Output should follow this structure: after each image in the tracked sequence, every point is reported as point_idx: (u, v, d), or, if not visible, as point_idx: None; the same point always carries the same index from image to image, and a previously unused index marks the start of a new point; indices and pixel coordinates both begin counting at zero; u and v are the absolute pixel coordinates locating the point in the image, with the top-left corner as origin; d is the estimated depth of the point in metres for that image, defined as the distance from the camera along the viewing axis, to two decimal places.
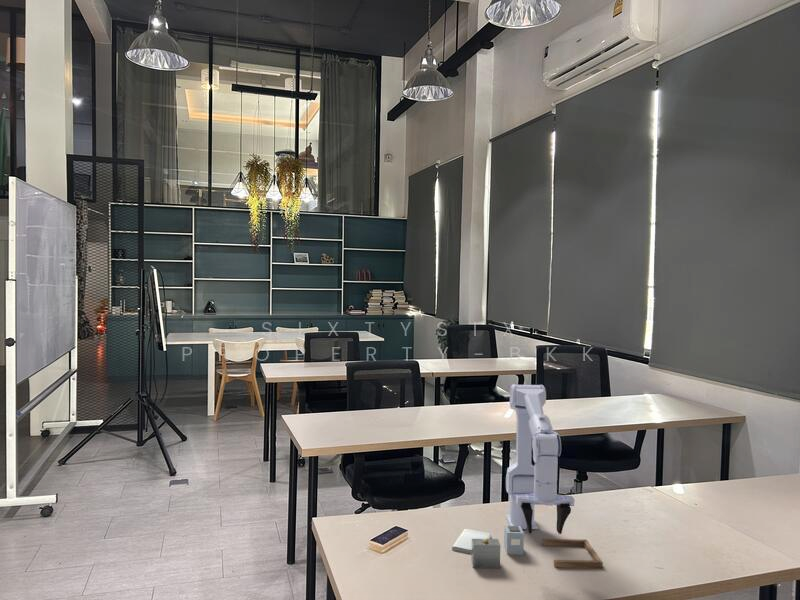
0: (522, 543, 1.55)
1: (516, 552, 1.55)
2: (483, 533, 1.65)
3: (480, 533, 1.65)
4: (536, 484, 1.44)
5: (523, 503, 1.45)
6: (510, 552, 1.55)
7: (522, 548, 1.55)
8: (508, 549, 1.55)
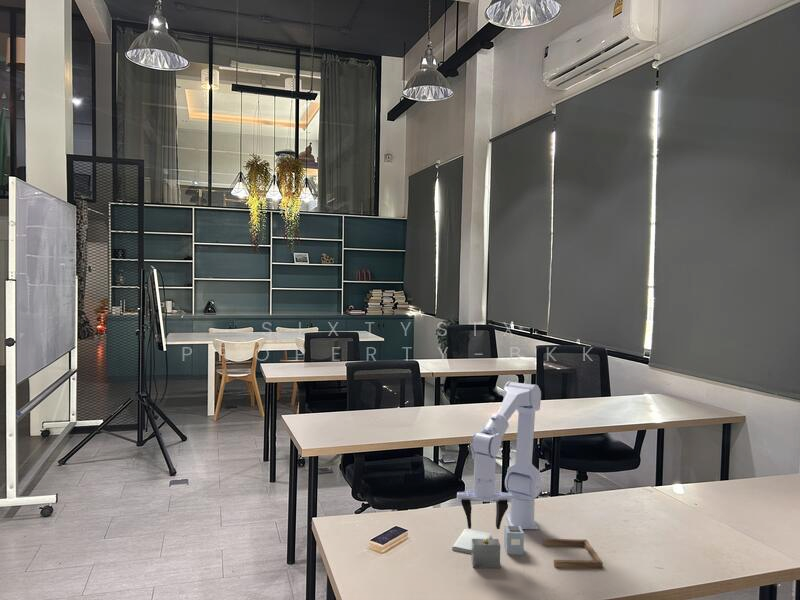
0: (522, 543, 1.55)
1: (516, 552, 1.55)
2: (483, 533, 1.65)
3: (480, 533, 1.65)
4: (475, 481, 1.52)
5: (463, 500, 1.52)
6: (510, 552, 1.55)
7: (522, 548, 1.55)
8: (508, 549, 1.55)
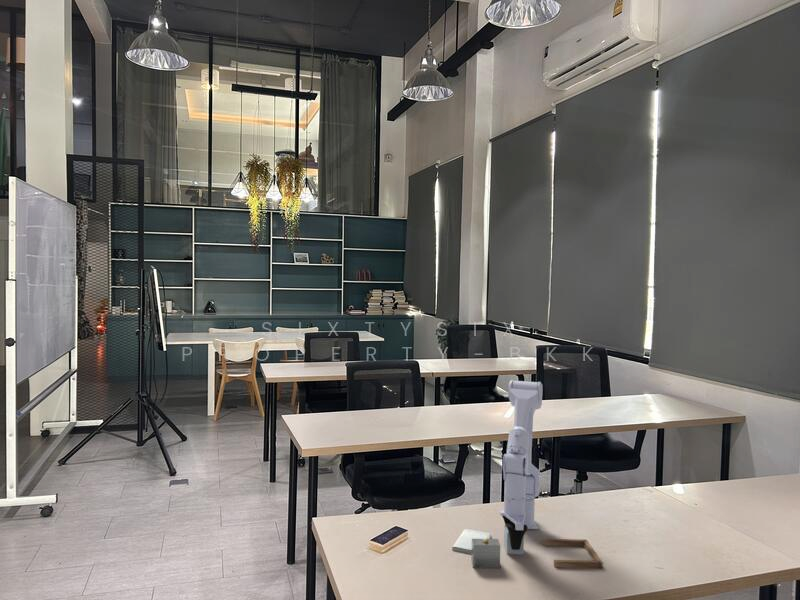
0: (522, 543, 1.55)
1: (516, 552, 1.55)
2: (483, 533, 1.65)
3: (480, 533, 1.65)
4: None
5: None
6: (510, 552, 1.55)
7: (522, 548, 1.55)
8: (508, 549, 1.55)
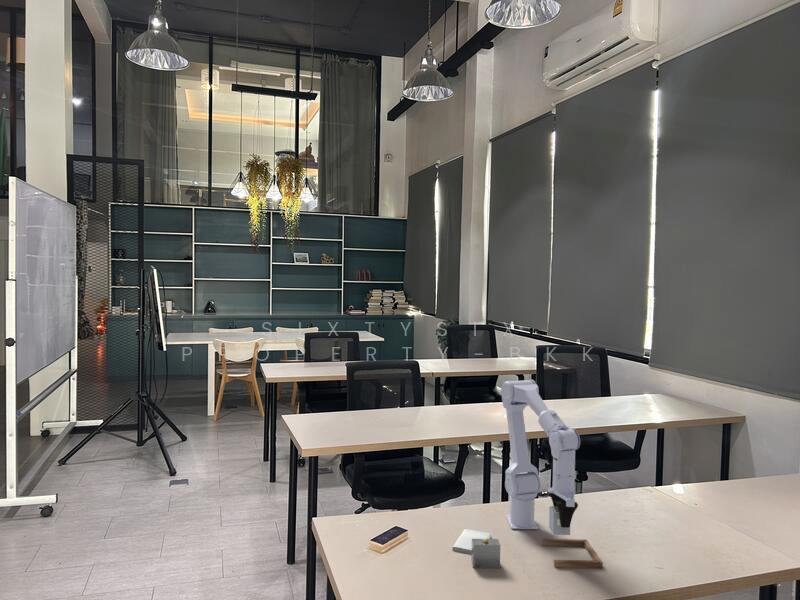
0: None
1: (563, 532, 1.52)
2: (483, 533, 1.65)
3: (480, 533, 1.65)
4: None
5: None
6: (556, 532, 1.52)
7: (569, 528, 1.52)
8: (554, 529, 1.52)
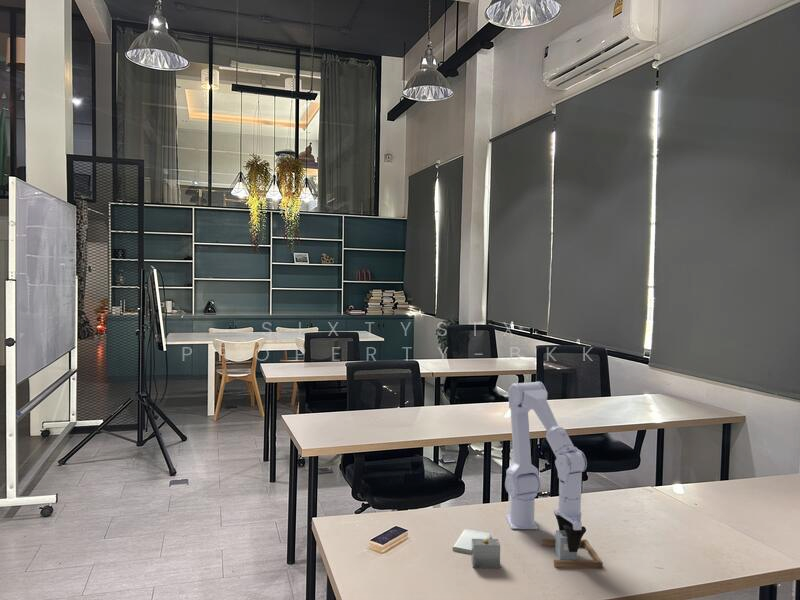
0: None
1: (569, 557, 1.52)
2: (483, 533, 1.65)
3: (480, 533, 1.65)
4: None
5: None
6: (563, 557, 1.52)
7: (575, 553, 1.52)
8: (561, 554, 1.52)
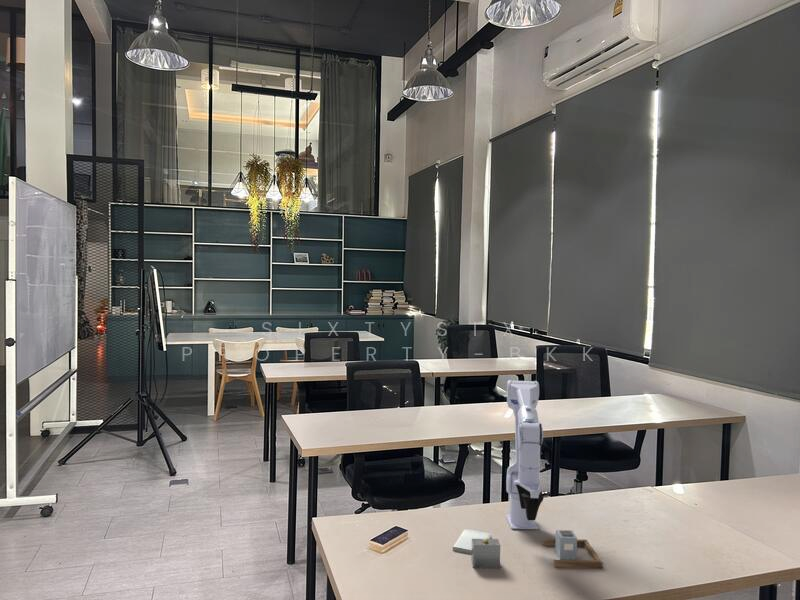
0: (575, 548, 1.52)
1: (569, 557, 1.52)
2: (483, 533, 1.65)
3: (480, 533, 1.65)
4: None
5: None
6: (563, 557, 1.52)
7: (575, 553, 1.52)
8: (561, 554, 1.52)
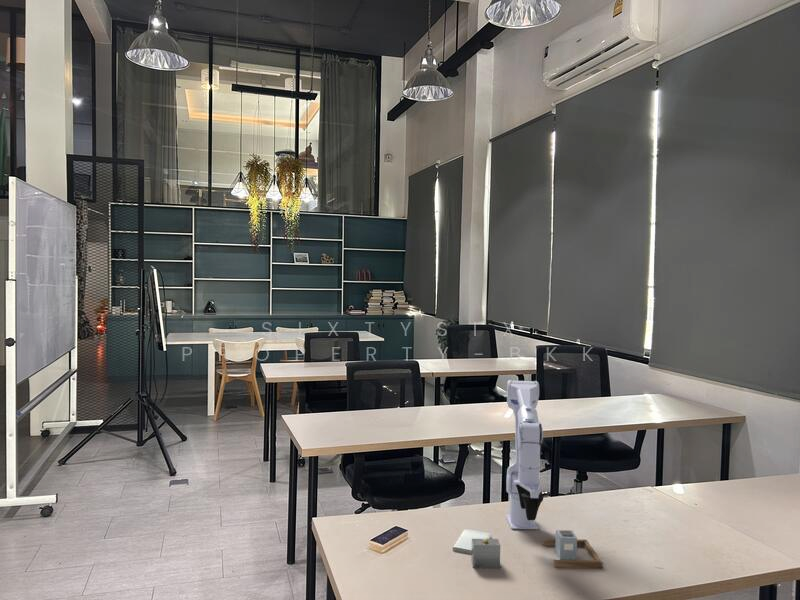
0: (575, 548, 1.52)
1: (569, 557, 1.52)
2: (483, 533, 1.65)
3: (480, 533, 1.65)
4: None
5: None
6: (563, 557, 1.52)
7: (575, 553, 1.52)
8: (561, 554, 1.52)
